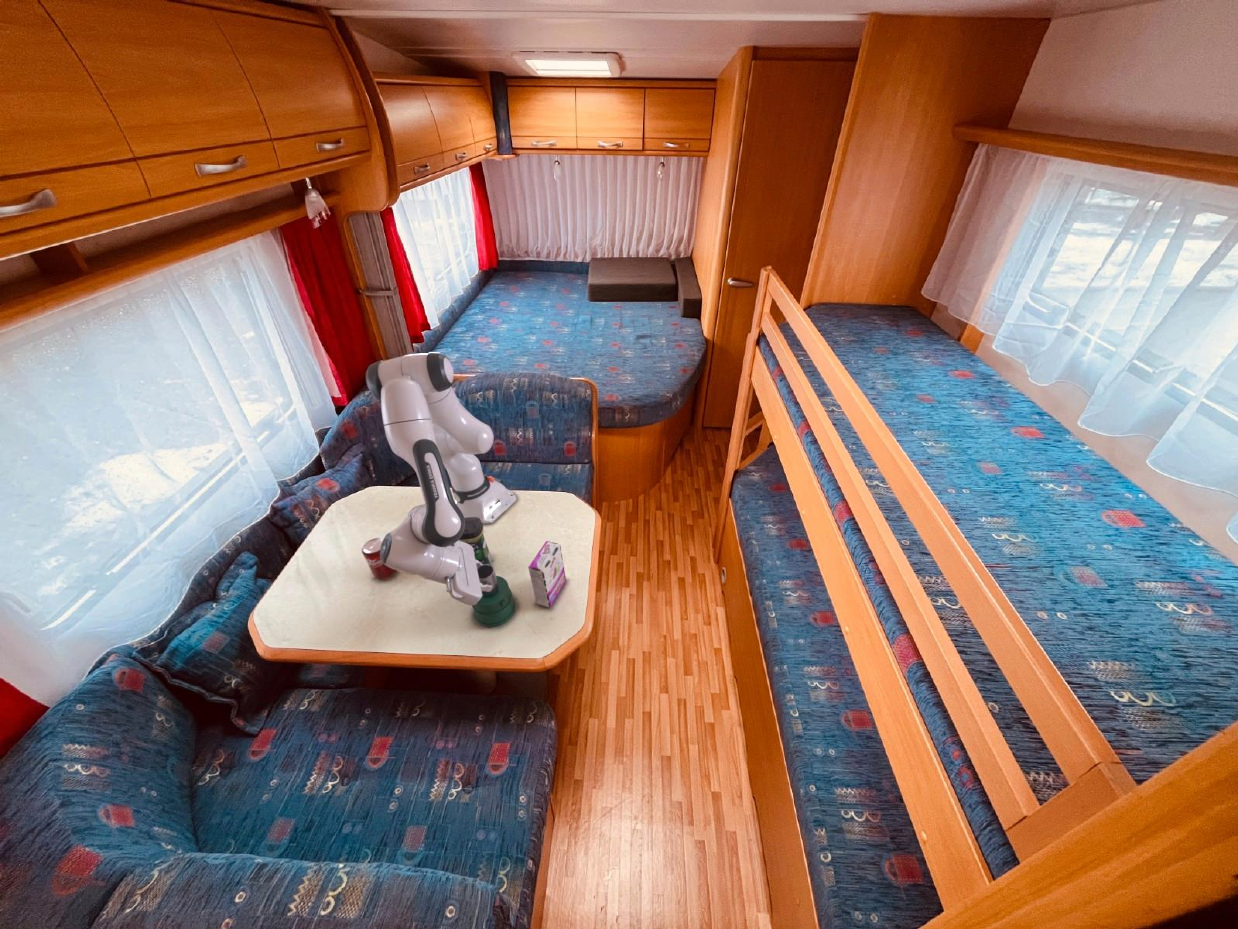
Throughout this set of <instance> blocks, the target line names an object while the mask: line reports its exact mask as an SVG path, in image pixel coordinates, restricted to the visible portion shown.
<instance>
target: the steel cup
mask: <svg viewBox="0 0 1238 929" xmlns="http://www.w3.org/2000/svg"><path fill="white" fill-rule="evenodd" d="M477 571H478V576H479V581H480V583H482V585H485V584H486V583H489V584H492V590H491V591H490V592H487V591H482V596H483V597H491V596H493V595H495V594H496V593H497V592H498V590H499V585H498V581H497V577H496V576H497V574H496V571H495V568H494V566H493V565H491V564H490V565H489V564H485V565H481V566H479V567H478V568H477Z"/></svg>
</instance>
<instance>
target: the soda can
mask: <svg viewBox="0 0 1238 929" xmlns="http://www.w3.org/2000/svg"><path fill="white" fill-rule="evenodd" d="M383 539H384V538H381V537H375V538H371V539H370V540H368V541H366V542H365V543H364V544H363V545H362V548H361V553H362V555H363V557H364V559H365V561H366V563H367V565H368V568H369V569H370V572H371V574H372V576H373V577H374V578H375V579H377V580H387V579H389V578H391V577H393V576H394V575H395V574H396V573H397V572H398V571H397V570H394V569H392V568H390V567H388V566H386V565H385V564H384V563H383V562H382V560H381V558H380V548H381V544H382V541H383Z"/></svg>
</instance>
